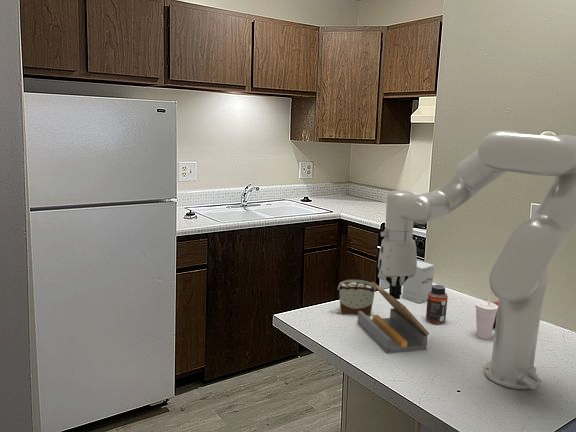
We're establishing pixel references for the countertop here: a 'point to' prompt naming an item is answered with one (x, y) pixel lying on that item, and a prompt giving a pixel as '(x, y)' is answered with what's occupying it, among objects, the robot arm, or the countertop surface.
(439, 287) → the supplement bottle
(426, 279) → the supplement box
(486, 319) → the smoothie
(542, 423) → the countertop surface
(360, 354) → the countertop surface
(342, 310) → the food container
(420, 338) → the bar
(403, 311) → the lid
